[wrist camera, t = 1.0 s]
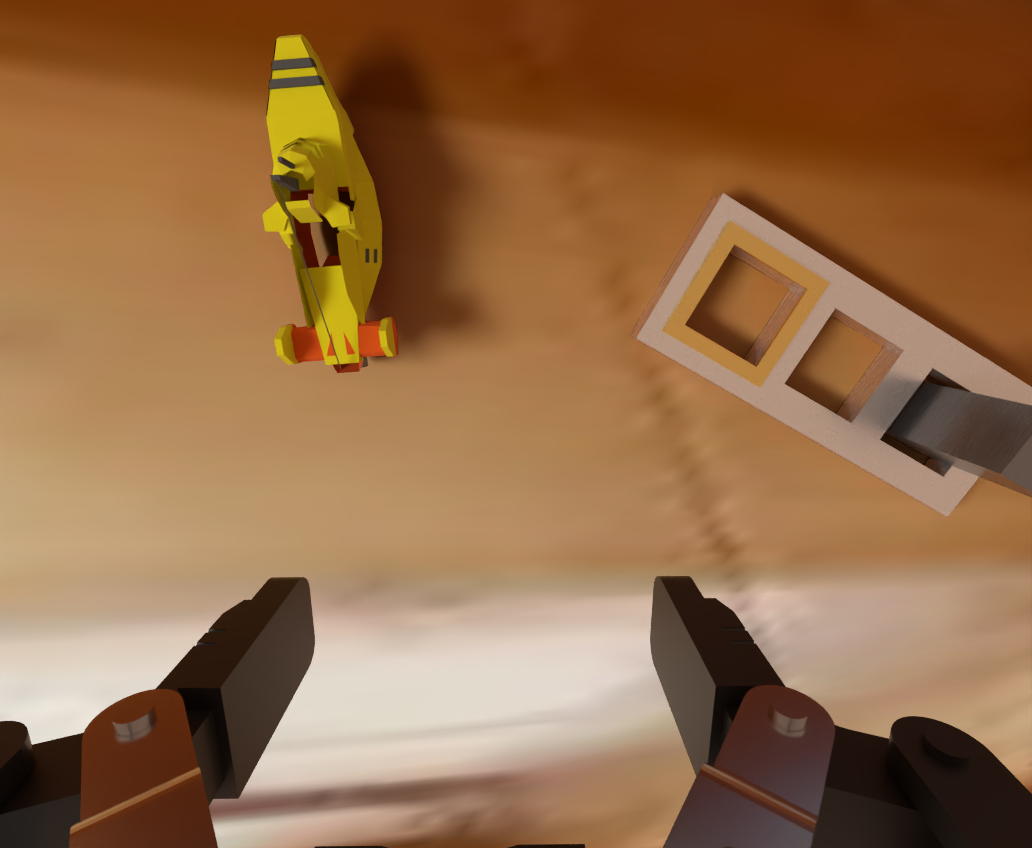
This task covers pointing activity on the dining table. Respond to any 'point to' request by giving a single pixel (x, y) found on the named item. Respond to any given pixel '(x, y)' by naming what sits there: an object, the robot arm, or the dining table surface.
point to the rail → (793, 329)
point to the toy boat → (323, 172)
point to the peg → (970, 433)
